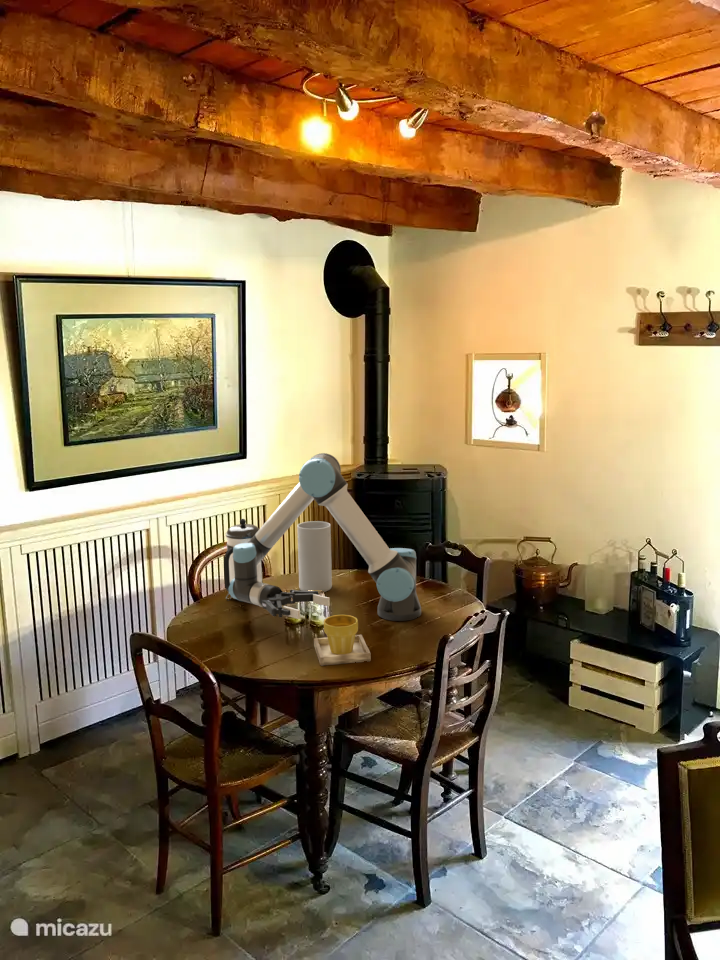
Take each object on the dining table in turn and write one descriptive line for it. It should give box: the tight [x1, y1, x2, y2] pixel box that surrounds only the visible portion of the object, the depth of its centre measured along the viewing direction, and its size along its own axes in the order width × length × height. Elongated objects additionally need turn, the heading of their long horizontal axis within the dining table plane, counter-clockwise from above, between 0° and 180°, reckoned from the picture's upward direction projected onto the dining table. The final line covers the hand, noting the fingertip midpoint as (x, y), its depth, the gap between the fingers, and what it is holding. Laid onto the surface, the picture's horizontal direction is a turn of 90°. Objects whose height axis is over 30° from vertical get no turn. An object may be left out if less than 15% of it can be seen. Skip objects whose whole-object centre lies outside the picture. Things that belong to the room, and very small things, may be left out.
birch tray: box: [313, 634, 372, 666], centre depth 235 cm, size 15×15×2 cm
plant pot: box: [323, 614, 359, 655], centre depth 234 cm, size 10×10×10 cm
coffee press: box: [223, 518, 263, 600], centre depth 284 cm, size 17×16×30 cm
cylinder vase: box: [297, 520, 333, 593], centre depth 295 cm, size 12×12×25 cm
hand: (314, 608), depth 240 cm, fingers open, 13 cm apart
